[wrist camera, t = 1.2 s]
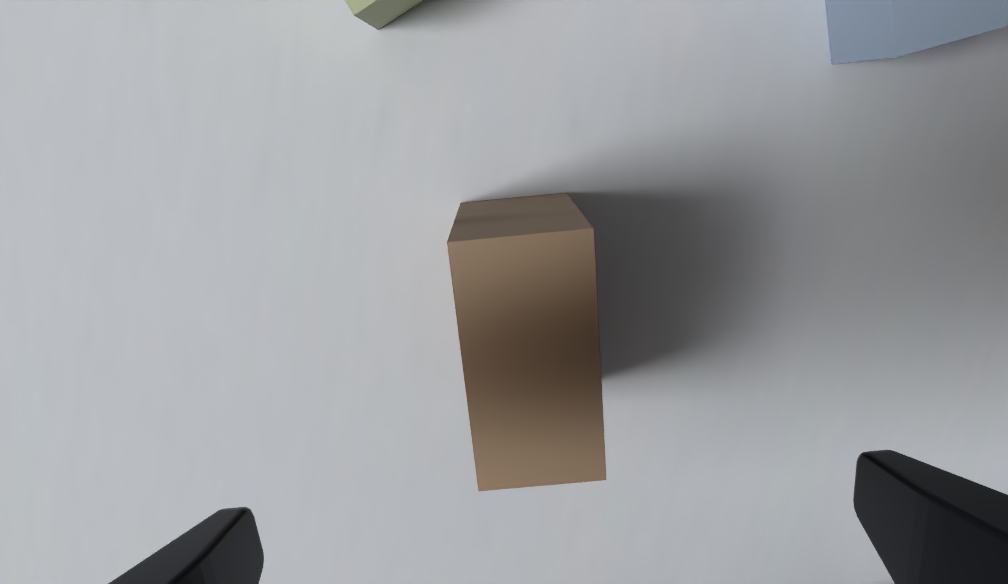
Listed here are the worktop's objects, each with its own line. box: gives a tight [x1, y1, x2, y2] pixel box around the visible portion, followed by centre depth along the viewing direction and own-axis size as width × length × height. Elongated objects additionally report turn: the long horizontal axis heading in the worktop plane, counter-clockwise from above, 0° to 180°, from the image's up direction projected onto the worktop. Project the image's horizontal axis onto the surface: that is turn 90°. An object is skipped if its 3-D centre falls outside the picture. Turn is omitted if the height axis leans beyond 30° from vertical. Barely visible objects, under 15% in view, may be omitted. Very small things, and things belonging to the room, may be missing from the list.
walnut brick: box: [447, 193, 606, 491], centre depth 16 cm, size 6×3×5 cm, turn 5°
